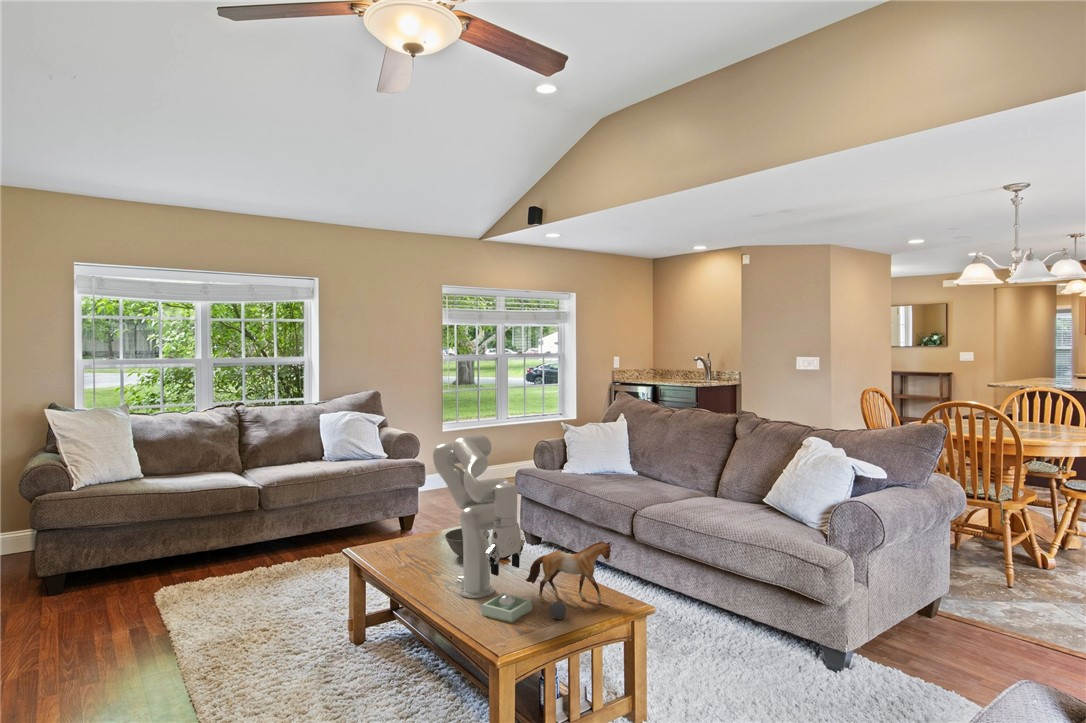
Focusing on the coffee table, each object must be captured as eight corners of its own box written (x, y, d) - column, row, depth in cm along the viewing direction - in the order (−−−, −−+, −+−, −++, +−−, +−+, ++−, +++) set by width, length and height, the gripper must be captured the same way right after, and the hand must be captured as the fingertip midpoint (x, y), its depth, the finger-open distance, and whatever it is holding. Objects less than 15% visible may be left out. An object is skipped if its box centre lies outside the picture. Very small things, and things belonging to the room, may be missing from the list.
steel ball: (495, 611, 216) (495, 595, 216) (505, 606, 221) (505, 590, 221) (508, 615, 213) (509, 599, 213) (518, 609, 218) (518, 593, 218)
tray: (481, 615, 215) (481, 604, 215) (503, 602, 225) (503, 592, 225) (511, 623, 209) (511, 612, 209) (531, 610, 219) (531, 599, 219)
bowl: (440, 554, 279) (439, 531, 279) (481, 547, 287) (481, 525, 287) (452, 567, 262) (452, 542, 262) (496, 560, 270) (496, 536, 270)
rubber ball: (546, 619, 211) (546, 602, 211) (555, 613, 216) (555, 597, 216) (561, 623, 208) (560, 606, 208) (569, 617, 213) (569, 600, 213)
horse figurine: (613, 598, 228) (612, 540, 228) (612, 607, 221) (611, 547, 220) (526, 594, 233) (525, 537, 233) (522, 602, 226) (521, 543, 225)
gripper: (494, 528, 208) (494, 581, 209) (531, 517, 220) (531, 566, 221) (478, 523, 213) (478, 574, 214) (516, 512, 225) (515, 561, 226)
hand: (505, 570), depth 217 cm, fingers open, 9 cm apart
